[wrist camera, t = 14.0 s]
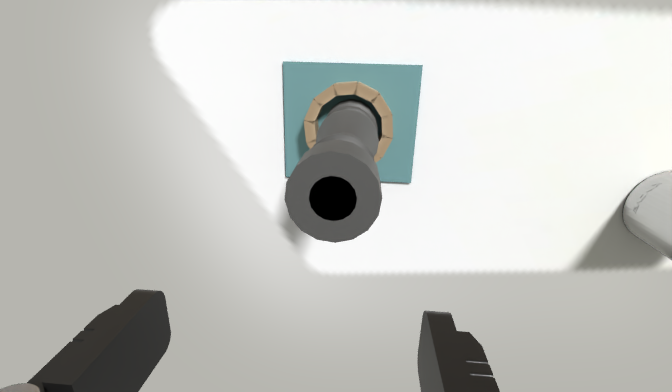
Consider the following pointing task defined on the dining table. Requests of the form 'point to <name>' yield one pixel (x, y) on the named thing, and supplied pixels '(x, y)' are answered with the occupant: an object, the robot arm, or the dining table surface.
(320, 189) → the candle holder
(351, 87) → the segmented wooden ring
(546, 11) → the dining table surface
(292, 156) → the runner mat
